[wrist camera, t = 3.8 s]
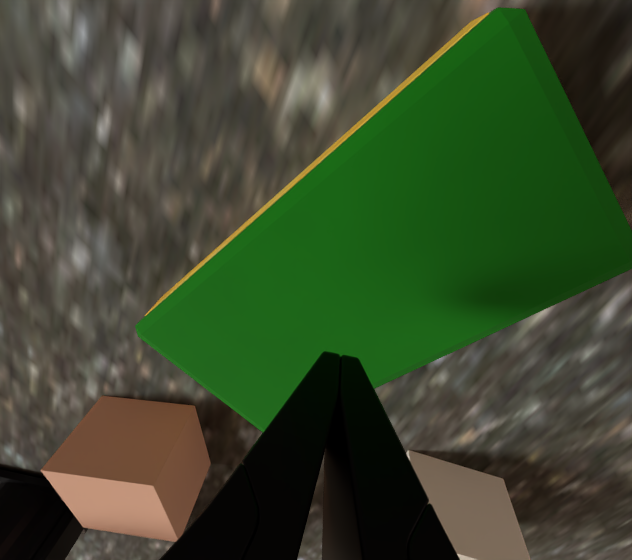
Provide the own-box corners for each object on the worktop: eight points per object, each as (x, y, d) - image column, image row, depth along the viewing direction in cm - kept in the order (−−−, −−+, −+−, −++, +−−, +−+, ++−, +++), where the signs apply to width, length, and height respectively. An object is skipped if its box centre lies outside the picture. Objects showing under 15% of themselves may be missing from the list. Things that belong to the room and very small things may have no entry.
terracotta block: (131, 451, 20) (83, 527, 17) (103, 393, 18) (40, 470, 14) (211, 461, 20) (179, 542, 16) (195, 403, 17) (153, 485, 14)
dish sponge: (594, 227, 10) (650, 264, 8) (280, 393, 16) (268, 440, 14) (480, 11, 8) (519, -10, 6) (162, 294, 14) (127, 332, 12)
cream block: (370, 494, 19) (371, 584, 16) (408, 447, 17) (419, 542, 13) (452, 519, 20) (470, 612, 16) (502, 476, 17) (536, 576, 14)
